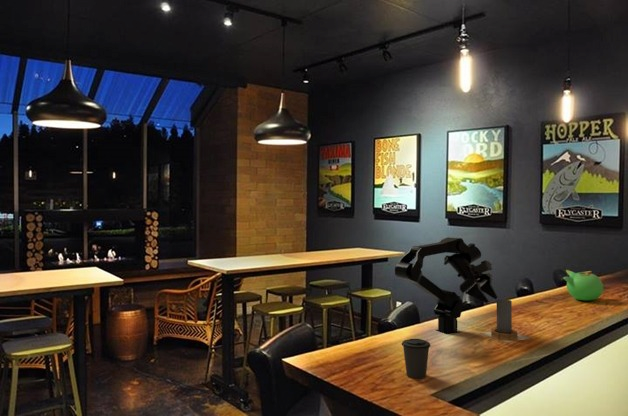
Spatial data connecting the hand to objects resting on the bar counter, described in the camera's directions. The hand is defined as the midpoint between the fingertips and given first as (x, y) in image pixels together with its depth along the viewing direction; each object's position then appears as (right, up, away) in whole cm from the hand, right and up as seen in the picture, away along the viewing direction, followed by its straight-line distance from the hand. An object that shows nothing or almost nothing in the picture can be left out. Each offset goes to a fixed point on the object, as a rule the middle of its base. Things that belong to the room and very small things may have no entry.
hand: (492, 300), depth 175 cm
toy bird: (+69, -12, +63) cm, 94 cm away
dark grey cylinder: (+3, -13, -3) cm, 13 cm away
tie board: (+4, -13, -1) cm, 14 cm away
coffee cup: (-36, -14, -39) cm, 55 cm away
